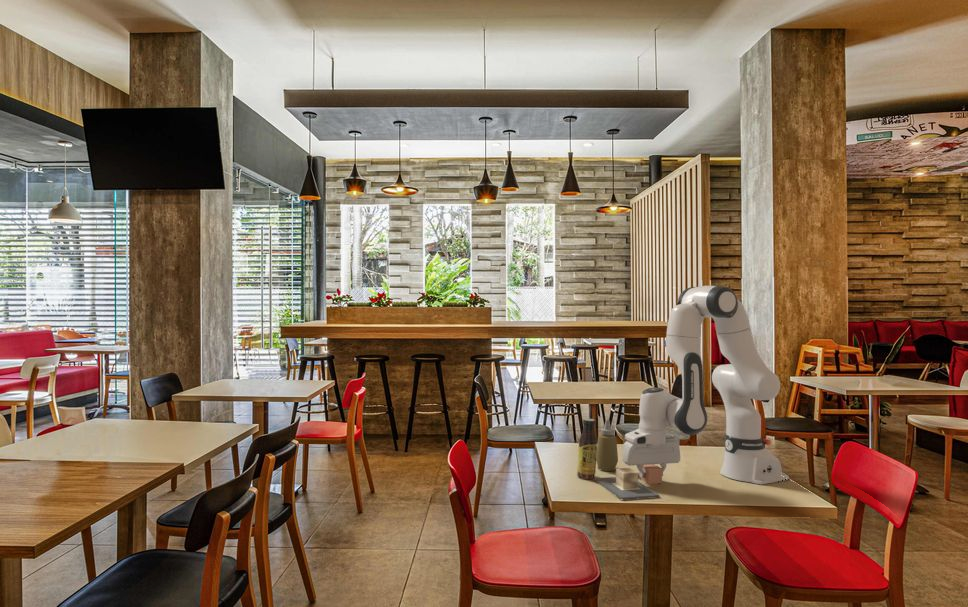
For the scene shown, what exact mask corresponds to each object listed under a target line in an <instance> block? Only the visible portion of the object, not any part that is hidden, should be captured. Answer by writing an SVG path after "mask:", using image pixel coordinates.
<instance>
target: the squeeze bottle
mask: <svg viewBox="0 0 968 607" xmlns="http://www.w3.org/2000/svg"><path fill="white" fill-rule="evenodd" d="M614 432H615V430H614V429H613V428H612V427H611V421H610V418H609V419H608V418H606V419H605V422H604V427H602V428H601V429H600V434H598V437H597V452H596V466H597V468H598V469H599V470H600V469H601V471H604V472H612V471H616V469H617V468H616V467H617V465H618V462H619V454H618V441H617V436H616V435H615V433H614Z"/></svg>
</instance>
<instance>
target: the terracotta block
mask: <svg viewBox="0 0 968 607" xmlns="http://www.w3.org/2000/svg"><path fill="white" fill-rule="evenodd" d="M642 470H643V471H644V472H646V478H641V477H640V481H642V480H643V481H642V482H644V483H645V482H646V483H645V484H647V485H659V484H658V483H663V477H662V468H660V466H658V465H657V464H650V465H643V468H642Z"/></svg>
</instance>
